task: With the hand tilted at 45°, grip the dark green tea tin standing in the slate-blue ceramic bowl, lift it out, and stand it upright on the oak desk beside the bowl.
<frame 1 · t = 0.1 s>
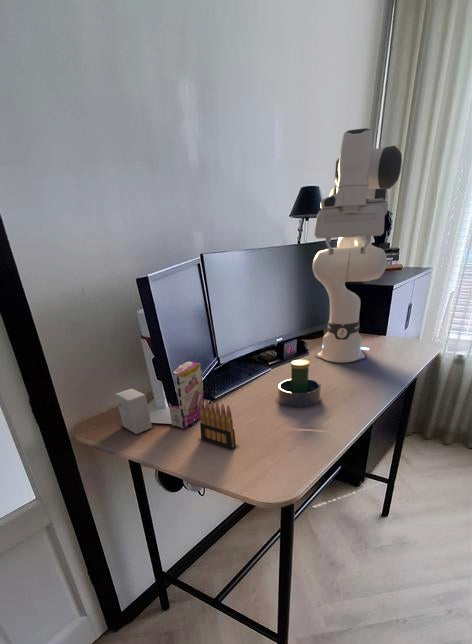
hand: (346, 254, 123), 39 cm above the table, tool pointing down, fingers open, 8 cm apart
tea tin: (298, 399, 129), resting on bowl
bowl: (298, 400, 130), on the table
candy bar box: (189, 421, 122), on the table
small box: (137, 428, 120), on the table
ammunition clip: (218, 443, 109), on the table
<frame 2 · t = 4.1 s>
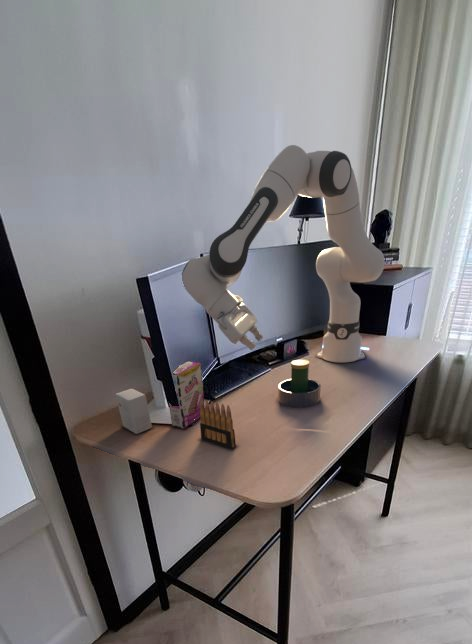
hand: (257, 343, 123), 18 cm above the table, tool tilted 45°, fingers open, 8 cm apart
nothing on the table moved.
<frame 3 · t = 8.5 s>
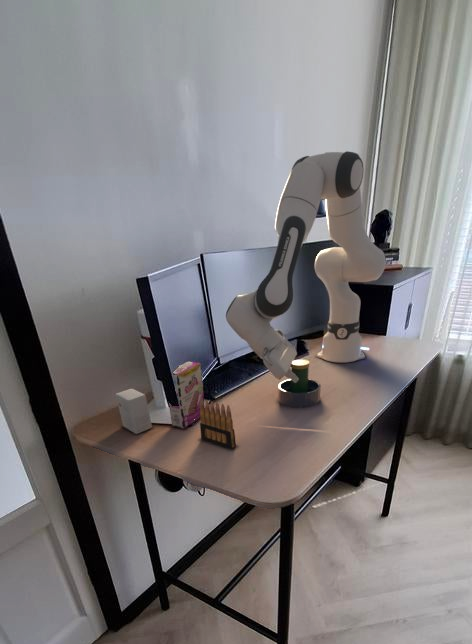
hand: (299, 377, 125), 8 cm above the table, tool tilted 45°, fingers closed on tea tin, 5 cm apart
tea tin: (298, 399, 129), resting on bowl, touching gripper
everything else where it was.
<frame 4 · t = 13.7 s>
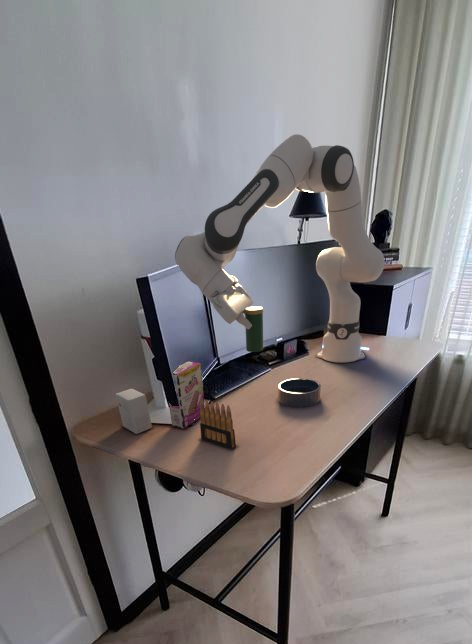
hand: (253, 324, 120), 23 cm above the table, tool tilted 45°, fingers closed on tea tin, 5 cm apart
tea tin: (254, 349, 124), point 16 cm above the table, touching gripper
everything else where it was.
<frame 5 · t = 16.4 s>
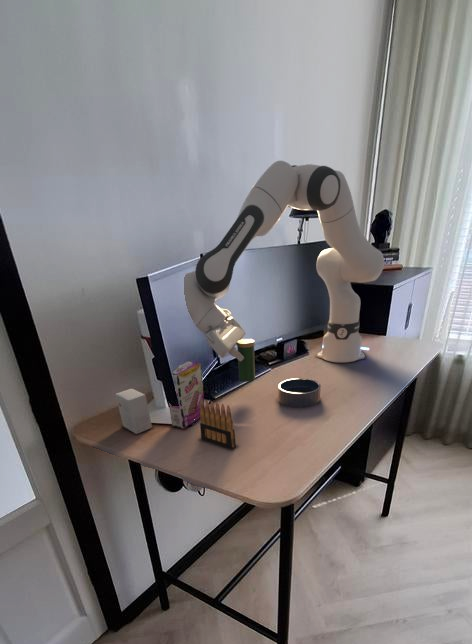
hand: (245, 356, 126), 14 cm above the table, tool tilted 45°, fingers closed on tea tin, 5 cm apart
tea tin: (247, 378, 130), point 6 cm above the table, touching gripper
everything else where it was.
when the fingers open (7 cm above the table, at t = 18.7 s): tea tin stays where it is, on the table.
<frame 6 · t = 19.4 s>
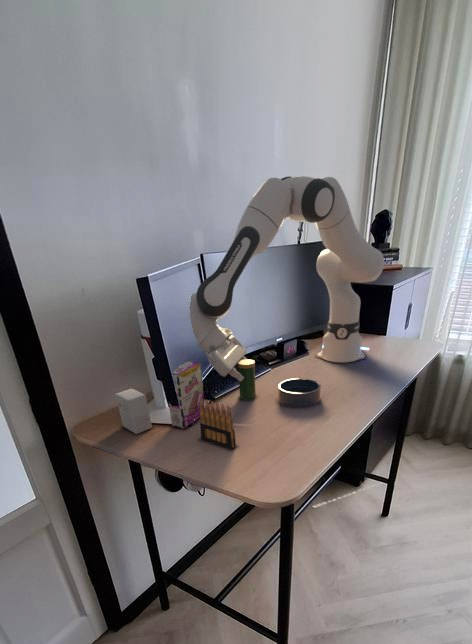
hand: (246, 374, 130), 8 cm above the table, tool tilted 45°, fingers open, 8 cm apart
tea tin: (247, 397, 134), on the table
everything else where it was.
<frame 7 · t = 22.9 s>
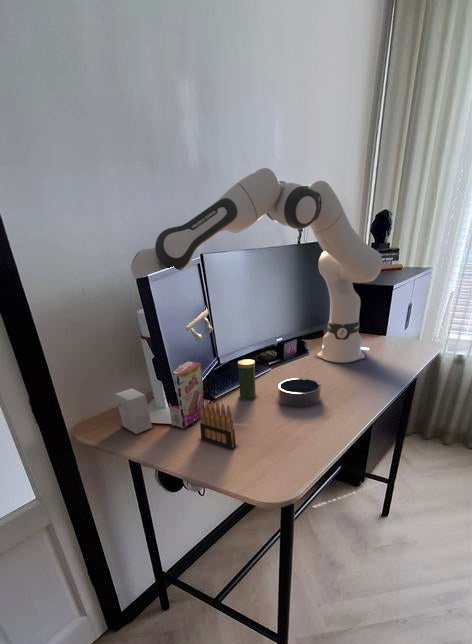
hand: (206, 336, 127), 19 cm above the table, tool tilted 40°, fingers open, 8 cm apart
nothing on the table moved.
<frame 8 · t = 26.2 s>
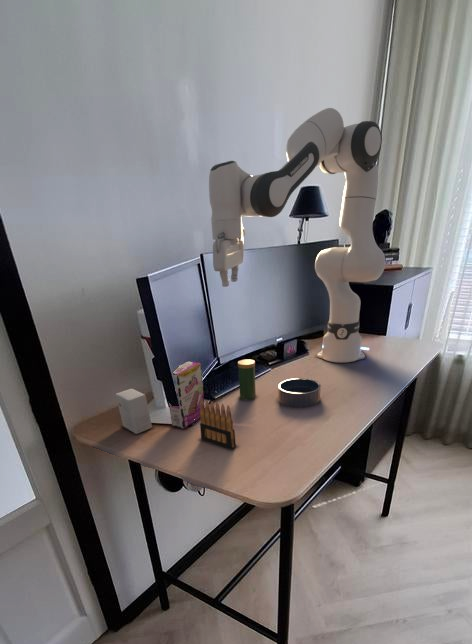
hand: (230, 283, 125), 33 cm above the table, tool pointing down, fingers open, 8 cm apart
nothing on the table moved.
at the end: tea tin inside the target area (0.1 cm from its centre), on the table; tea tin tilted 0°; tea tin touching table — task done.
